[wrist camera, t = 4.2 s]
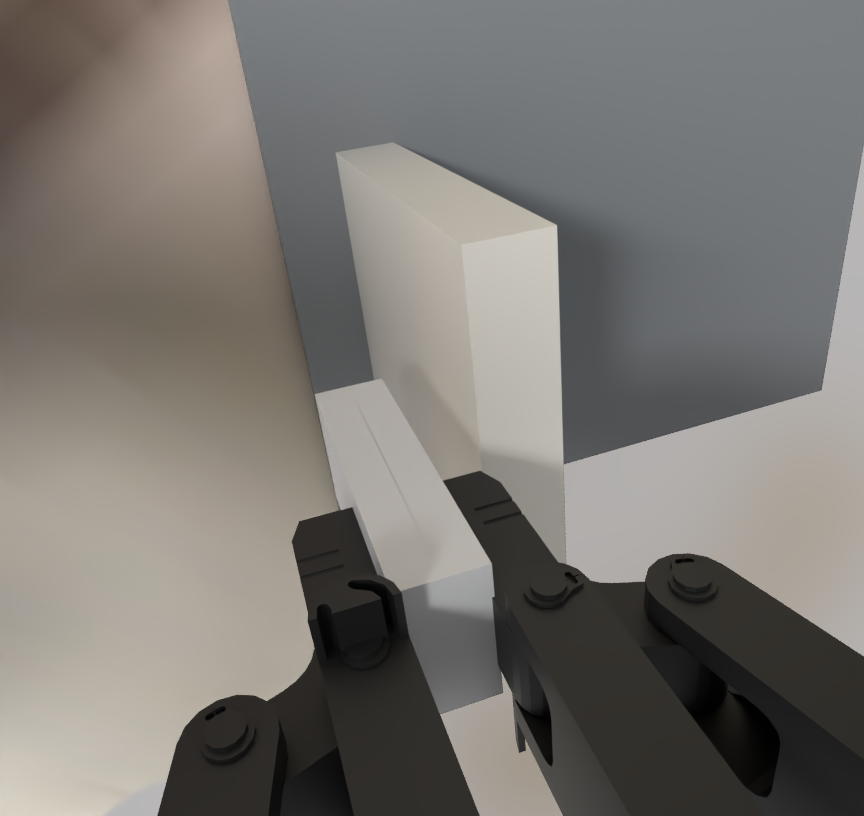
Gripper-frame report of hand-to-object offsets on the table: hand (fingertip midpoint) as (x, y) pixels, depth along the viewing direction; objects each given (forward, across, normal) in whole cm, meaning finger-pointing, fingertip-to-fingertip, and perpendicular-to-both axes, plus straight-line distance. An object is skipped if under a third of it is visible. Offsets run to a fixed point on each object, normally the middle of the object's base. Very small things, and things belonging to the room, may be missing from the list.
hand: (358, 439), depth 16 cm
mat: (+9, +11, 0) cm, 14 cm away
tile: (+9, +3, 0) cm, 9 cm away
